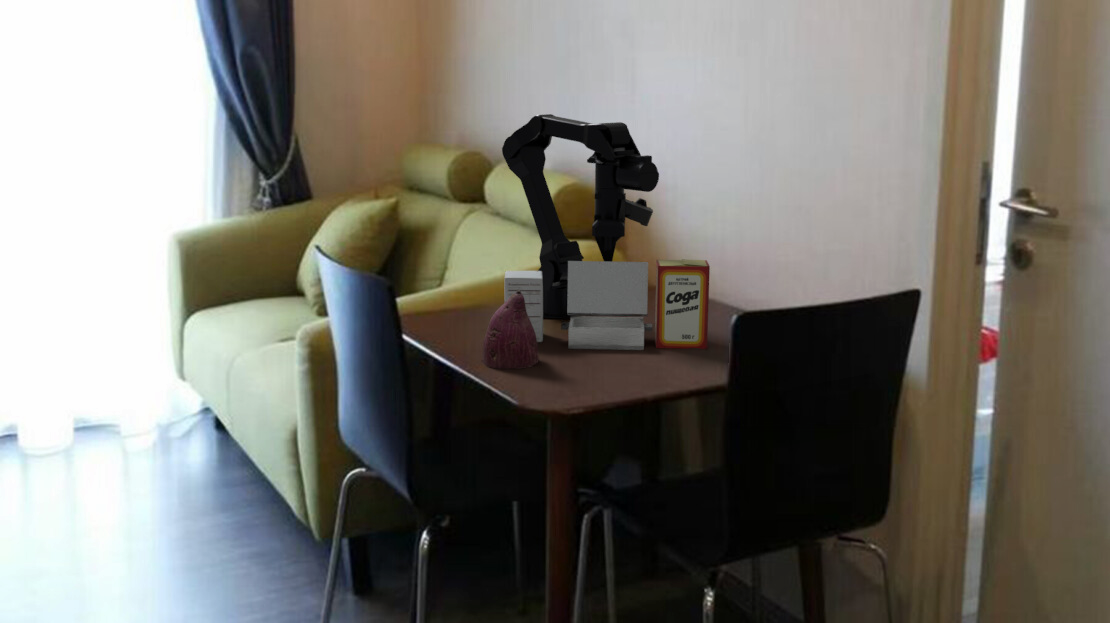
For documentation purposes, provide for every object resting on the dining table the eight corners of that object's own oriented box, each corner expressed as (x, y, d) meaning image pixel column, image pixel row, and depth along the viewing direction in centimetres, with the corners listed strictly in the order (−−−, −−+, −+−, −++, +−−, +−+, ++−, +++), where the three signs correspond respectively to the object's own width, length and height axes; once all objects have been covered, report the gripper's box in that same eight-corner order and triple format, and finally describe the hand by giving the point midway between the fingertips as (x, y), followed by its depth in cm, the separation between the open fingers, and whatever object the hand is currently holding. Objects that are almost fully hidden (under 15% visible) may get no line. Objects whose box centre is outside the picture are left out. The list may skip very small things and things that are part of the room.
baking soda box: (656, 348, 225) (658, 263, 222) (654, 339, 231) (656, 257, 228) (707, 348, 225) (709, 264, 221) (704, 340, 231) (706, 258, 228)
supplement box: (505, 333, 236) (505, 270, 233) (543, 333, 236) (543, 270, 233) (504, 342, 229) (503, 277, 226) (543, 342, 229) (543, 277, 226)
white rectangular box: (559, 348, 224) (560, 327, 223) (562, 336, 234) (562, 316, 233) (652, 350, 223) (652, 329, 222) (651, 337, 233) (651, 317, 232)
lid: (568, 260, 232) (568, 260, 234) (567, 315, 232) (567, 314, 234) (648, 262, 231) (647, 262, 233) (647, 316, 231) (646, 316, 234)
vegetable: (545, 381, 214) (566, 304, 209) (495, 381, 209) (515, 303, 203) (517, 354, 222) (537, 280, 217) (468, 354, 217) (487, 278, 211)
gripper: (651, 193, 226) (650, 275, 229) (650, 182, 244) (648, 258, 247) (592, 192, 226) (591, 274, 230) (595, 182, 244) (594, 257, 248)
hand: (608, 266), depth 239 cm, fingers closed
